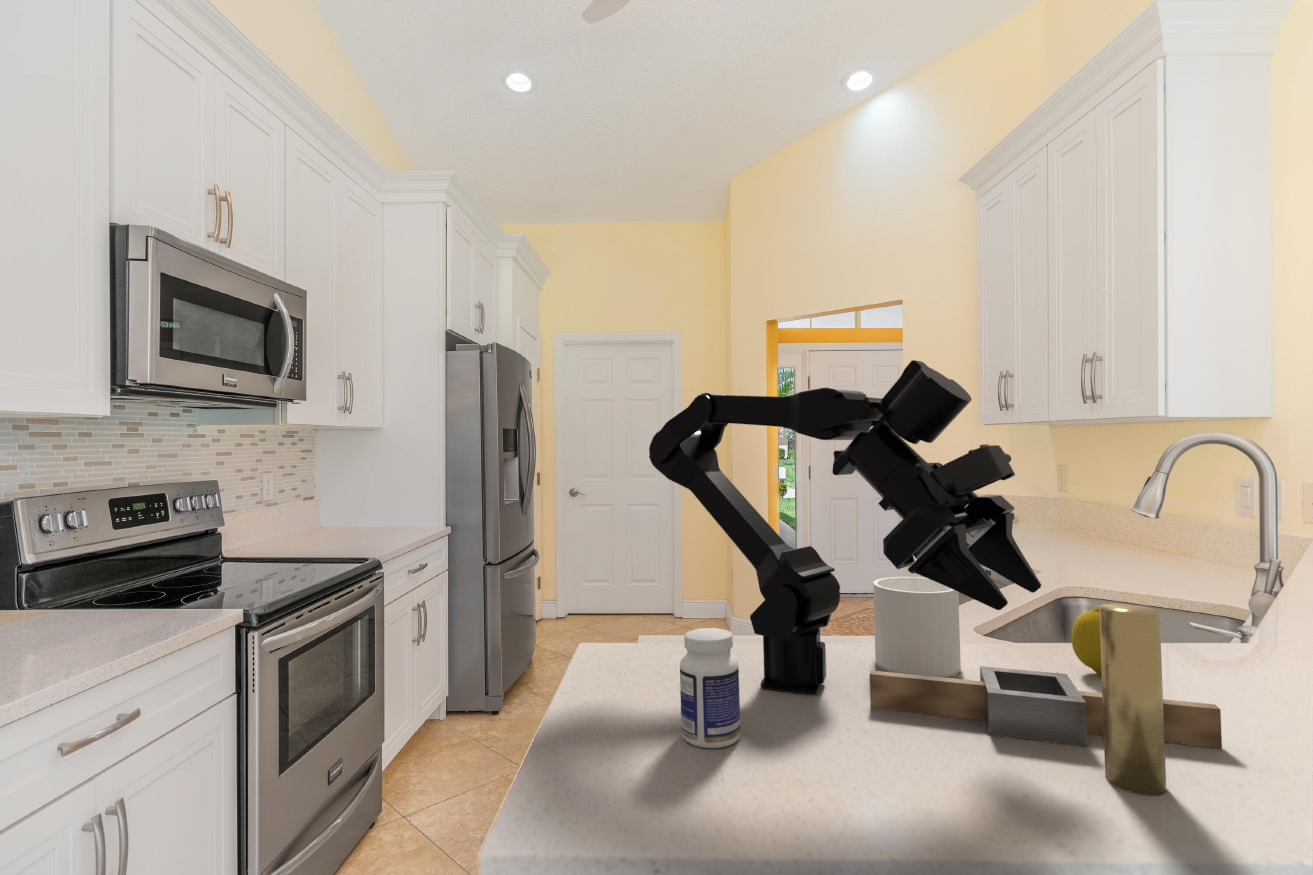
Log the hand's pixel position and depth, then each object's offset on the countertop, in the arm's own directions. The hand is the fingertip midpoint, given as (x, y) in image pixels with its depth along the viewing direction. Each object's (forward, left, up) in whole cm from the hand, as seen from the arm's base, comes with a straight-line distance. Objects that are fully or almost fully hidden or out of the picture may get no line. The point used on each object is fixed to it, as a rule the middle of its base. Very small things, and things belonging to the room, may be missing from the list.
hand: (1021, 597), depth 59 cm
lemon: (+11, +24, -14) cm, 30 cm away
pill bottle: (-28, -7, -14) cm, 32 cm away
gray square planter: (+1, +6, -14) cm, 15 cm away
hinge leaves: (+1, +6, -14) cm, 15 cm away
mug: (-10, +22, -14) cm, 28 cm away
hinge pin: (+7, -4, -14) cm, 16 cm away
